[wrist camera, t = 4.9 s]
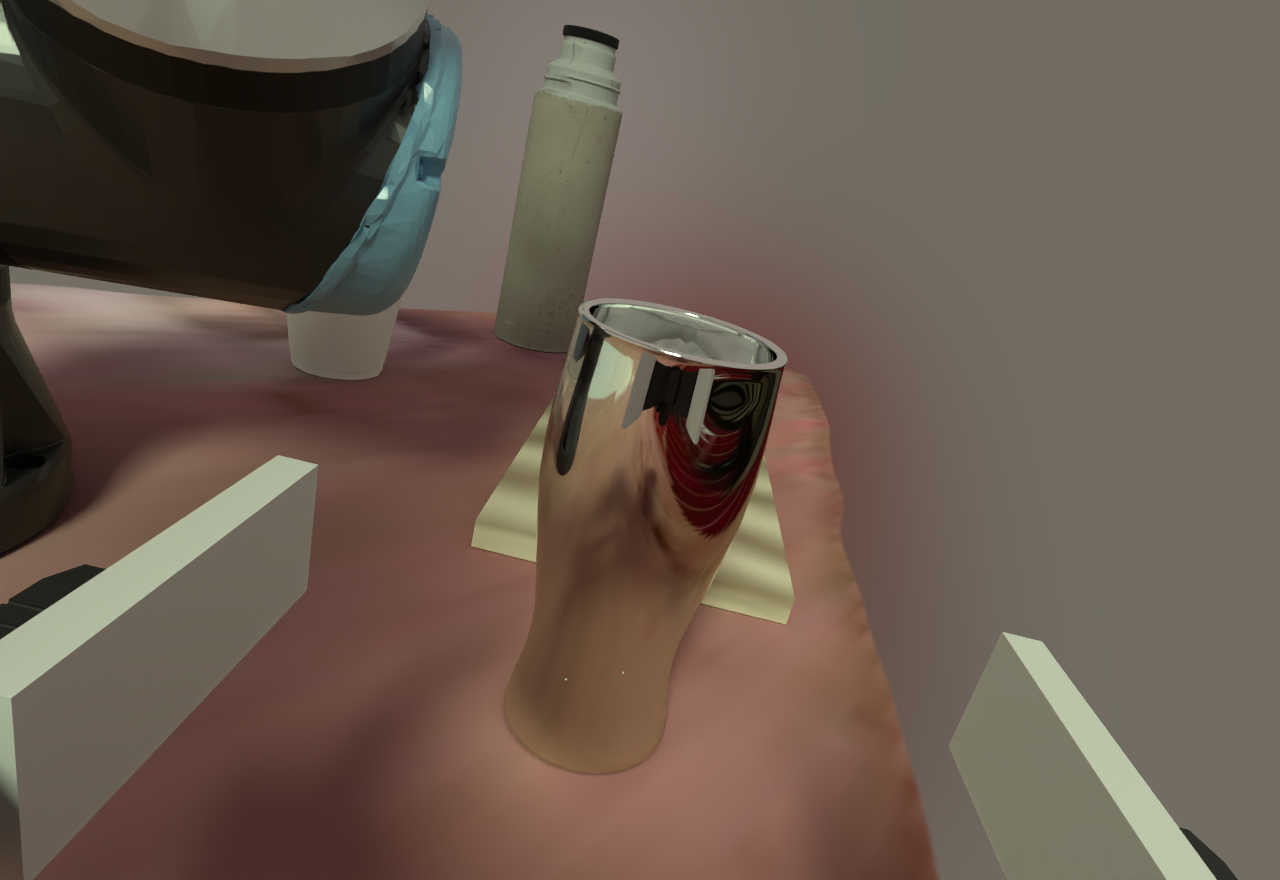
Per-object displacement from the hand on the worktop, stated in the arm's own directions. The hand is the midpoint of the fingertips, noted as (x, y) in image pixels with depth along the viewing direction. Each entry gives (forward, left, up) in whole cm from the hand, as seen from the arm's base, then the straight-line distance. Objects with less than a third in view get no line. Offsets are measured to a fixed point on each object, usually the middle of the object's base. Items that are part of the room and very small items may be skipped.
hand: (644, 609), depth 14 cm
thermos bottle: (-42, +46, -12) cm, 63 cm away
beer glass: (-6, +9, -12) cm, 16 cm away
